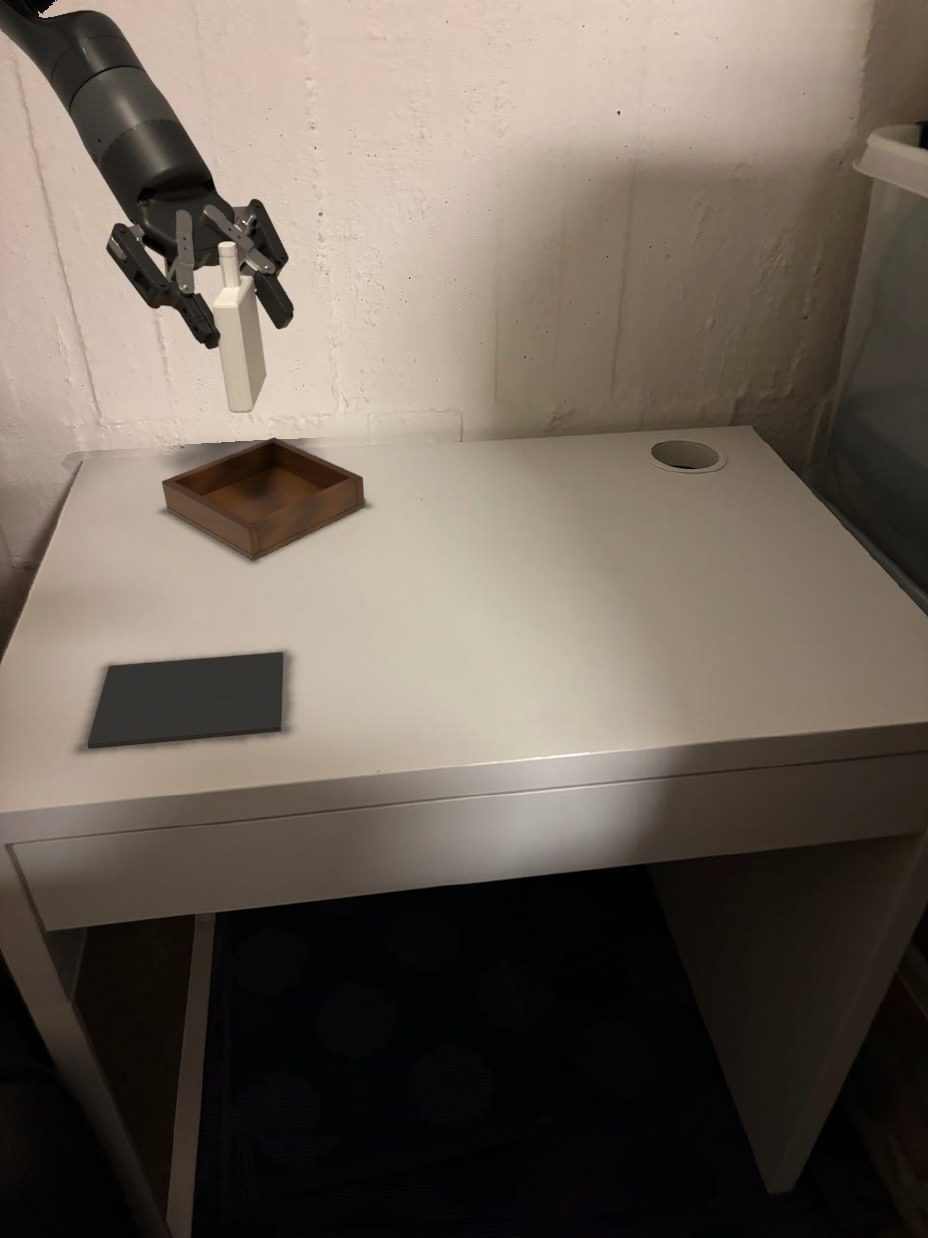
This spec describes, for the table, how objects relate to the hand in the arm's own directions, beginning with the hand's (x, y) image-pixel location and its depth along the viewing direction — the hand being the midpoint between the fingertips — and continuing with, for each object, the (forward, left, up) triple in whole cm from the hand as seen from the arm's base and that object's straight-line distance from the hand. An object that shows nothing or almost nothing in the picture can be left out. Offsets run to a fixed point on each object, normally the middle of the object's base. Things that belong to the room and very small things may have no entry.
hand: (252, 332), depth 74 cm
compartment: (0, +2, -17) cm, 17 cm away
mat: (-20, -16, -17) cm, 30 cm away
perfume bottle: (0, +2, -6) cm, 6 cm away
